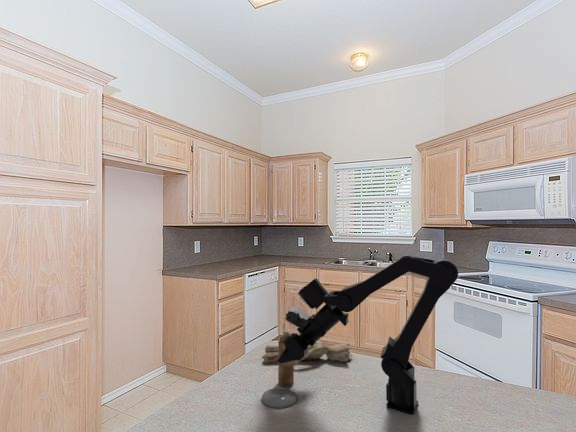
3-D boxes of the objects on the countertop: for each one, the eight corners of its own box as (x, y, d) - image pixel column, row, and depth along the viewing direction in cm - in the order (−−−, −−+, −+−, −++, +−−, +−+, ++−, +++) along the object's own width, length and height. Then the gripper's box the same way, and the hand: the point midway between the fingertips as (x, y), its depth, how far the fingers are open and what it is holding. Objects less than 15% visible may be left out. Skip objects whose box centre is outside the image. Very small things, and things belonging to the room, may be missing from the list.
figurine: (263, 375, 104) (357, 368, 104) (261, 355, 104) (356, 347, 104) (267, 356, 121) (349, 349, 120) (266, 338, 121) (347, 331, 121)
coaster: (302, 395, 87) (302, 393, 87) (284, 412, 80) (284, 409, 80) (274, 387, 92) (274, 384, 92) (255, 401, 85) (255, 399, 85)
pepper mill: (296, 382, 95) (296, 330, 95) (288, 388, 91) (288, 334, 92) (283, 378, 97) (283, 327, 98) (275, 384, 94) (275, 331, 94)
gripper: (312, 292, 102) (279, 324, 106) (291, 306, 85) (252, 343, 88) (337, 321, 99) (302, 353, 103) (321, 341, 81) (279, 378, 85)
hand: (284, 355), depth 95 cm, fingers open, 9 cm apart
